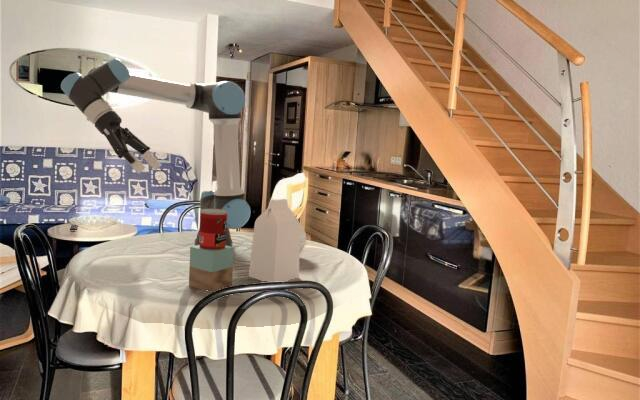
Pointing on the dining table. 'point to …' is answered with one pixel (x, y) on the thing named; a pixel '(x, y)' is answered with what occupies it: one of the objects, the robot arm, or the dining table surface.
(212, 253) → the teal block
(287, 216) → the milk
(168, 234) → the dining table surface
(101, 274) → the dining table surface
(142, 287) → the dining table surface
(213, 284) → the walnut block
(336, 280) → the dining table surface
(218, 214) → the canned food
